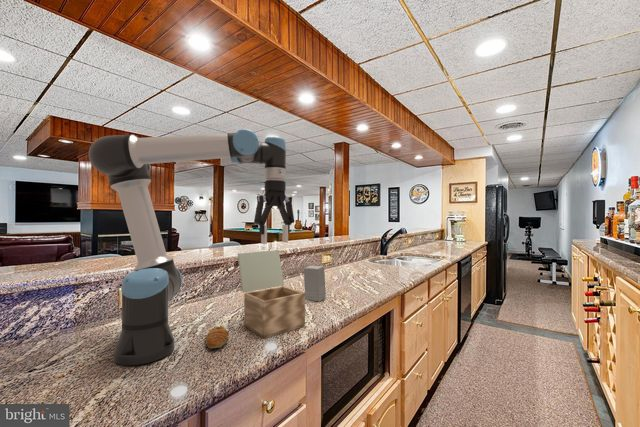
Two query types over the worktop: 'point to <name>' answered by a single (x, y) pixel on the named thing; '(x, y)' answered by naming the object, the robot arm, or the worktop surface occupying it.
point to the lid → (260, 270)
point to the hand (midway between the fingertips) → (274, 243)
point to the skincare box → (314, 283)
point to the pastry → (216, 337)
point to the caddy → (274, 311)
